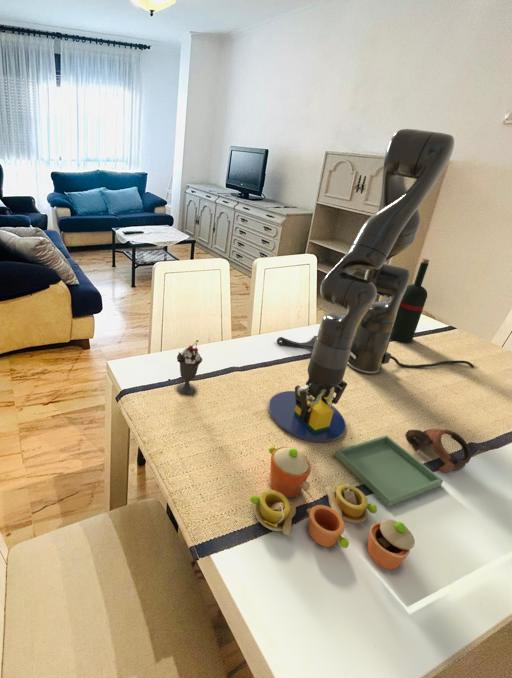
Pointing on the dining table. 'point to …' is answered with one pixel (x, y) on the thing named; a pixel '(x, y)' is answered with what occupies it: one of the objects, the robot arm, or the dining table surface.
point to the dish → (388, 470)
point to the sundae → (188, 368)
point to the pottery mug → (439, 446)
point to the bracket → (289, 343)
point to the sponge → (318, 416)
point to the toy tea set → (327, 511)
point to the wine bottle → (410, 308)
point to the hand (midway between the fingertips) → (312, 419)
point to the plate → (287, 420)
